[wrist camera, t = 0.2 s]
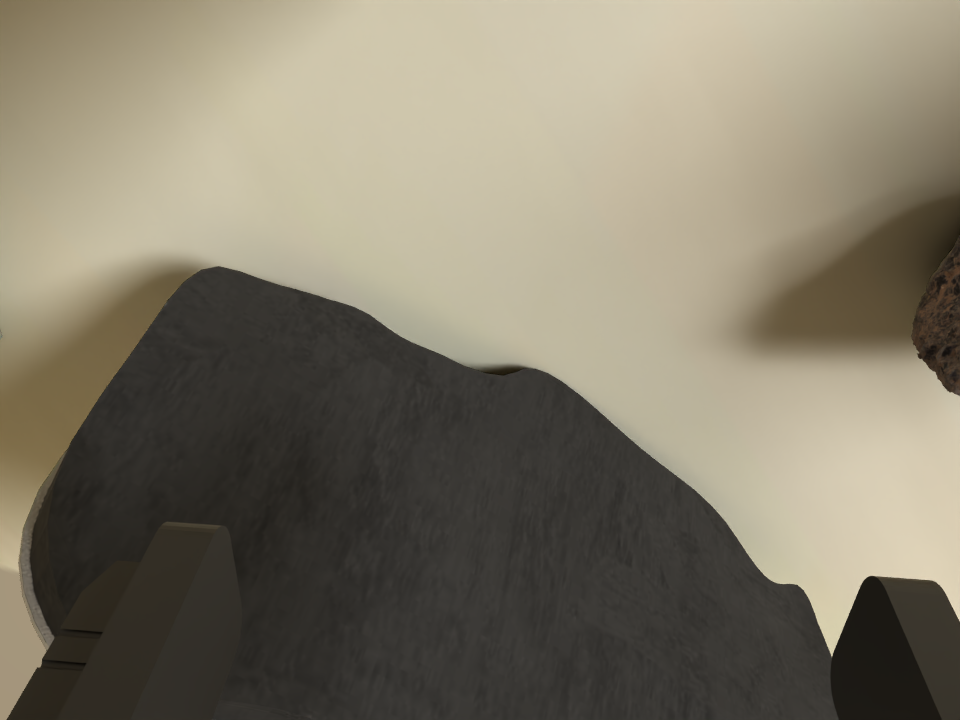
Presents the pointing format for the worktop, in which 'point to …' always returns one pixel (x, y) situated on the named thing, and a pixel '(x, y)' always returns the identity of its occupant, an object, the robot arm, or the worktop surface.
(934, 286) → the perforated stone tool
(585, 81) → the worktop surface
